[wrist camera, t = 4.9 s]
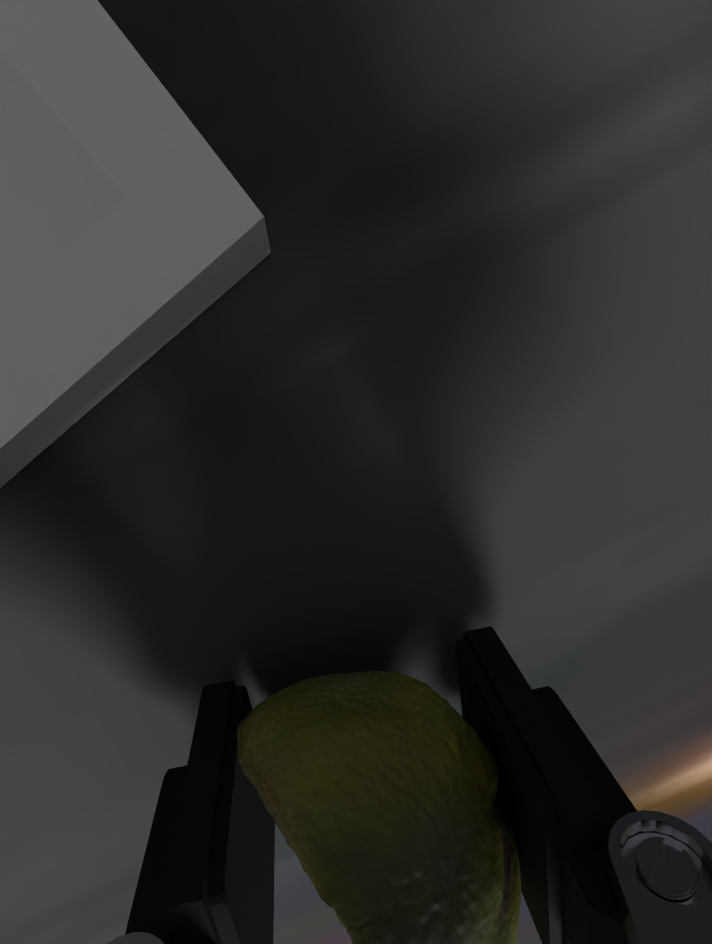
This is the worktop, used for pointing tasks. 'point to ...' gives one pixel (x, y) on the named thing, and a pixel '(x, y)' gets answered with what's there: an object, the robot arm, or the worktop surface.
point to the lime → (388, 808)
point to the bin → (98, 219)
